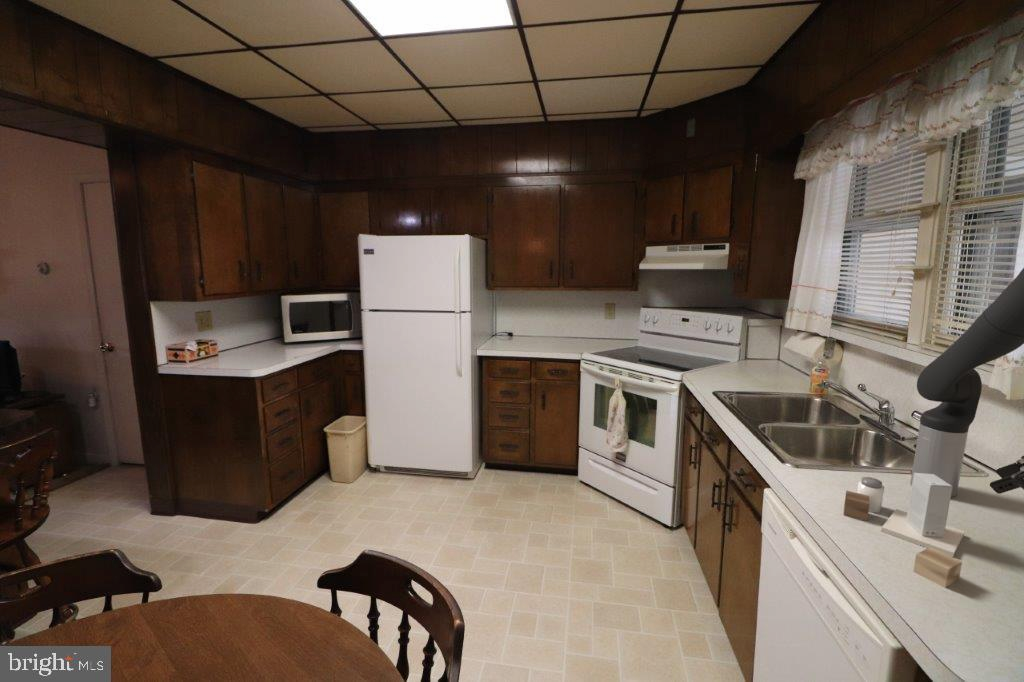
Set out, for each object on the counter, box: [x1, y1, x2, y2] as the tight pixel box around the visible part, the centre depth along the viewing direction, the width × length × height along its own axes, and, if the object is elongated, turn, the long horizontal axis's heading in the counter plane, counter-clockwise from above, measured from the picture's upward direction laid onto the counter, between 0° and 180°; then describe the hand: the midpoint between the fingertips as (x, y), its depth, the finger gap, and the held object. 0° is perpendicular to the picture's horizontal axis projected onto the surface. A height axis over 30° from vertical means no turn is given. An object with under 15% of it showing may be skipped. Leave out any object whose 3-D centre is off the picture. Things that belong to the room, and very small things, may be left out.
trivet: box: [880, 509, 965, 558], centre depth 105 cm, size 12×12×1 cm
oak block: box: [912, 547, 963, 588], centre depth 91 cm, size 5×5×4 cm
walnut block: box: [843, 490, 870, 522], centre depth 113 cm, size 4×4×4 cm
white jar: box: [856, 476, 885, 514], centre depth 116 cm, size 5×5×7 cm
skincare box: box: [906, 473, 952, 537], centre depth 104 cm, size 6×4×12 cm
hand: (996, 481), depth 96 cm, fingers open, 8 cm apart
